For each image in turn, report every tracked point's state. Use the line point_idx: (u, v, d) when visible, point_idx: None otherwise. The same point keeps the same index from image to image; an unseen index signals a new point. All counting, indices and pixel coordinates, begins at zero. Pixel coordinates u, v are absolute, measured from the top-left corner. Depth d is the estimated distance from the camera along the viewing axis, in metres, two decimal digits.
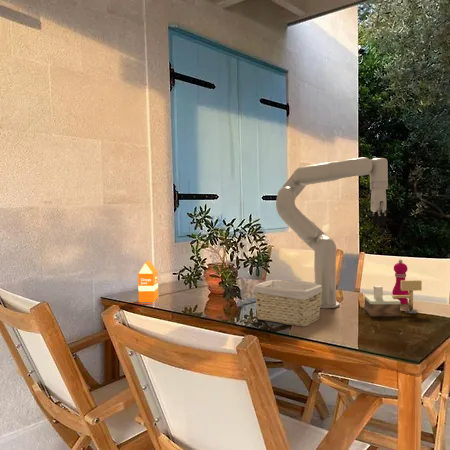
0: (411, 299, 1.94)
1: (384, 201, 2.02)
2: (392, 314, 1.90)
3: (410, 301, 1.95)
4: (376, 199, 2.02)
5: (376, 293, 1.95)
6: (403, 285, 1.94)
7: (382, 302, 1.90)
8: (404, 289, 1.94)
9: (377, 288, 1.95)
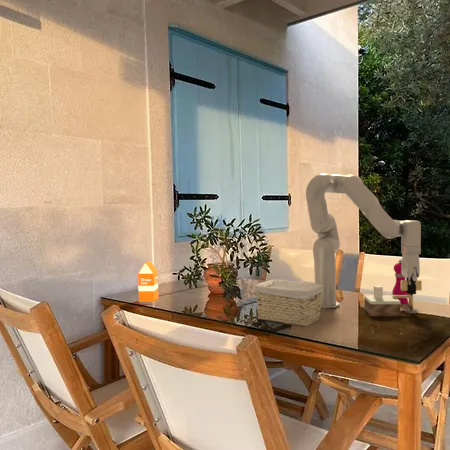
0: (411, 299, 1.94)
1: (417, 267, 1.89)
2: (392, 314, 1.90)
3: (410, 301, 1.95)
4: (409, 265, 1.90)
5: (376, 293, 1.95)
6: (403, 285, 1.94)
7: (382, 302, 1.90)
8: (404, 289, 1.94)
9: (377, 288, 1.95)
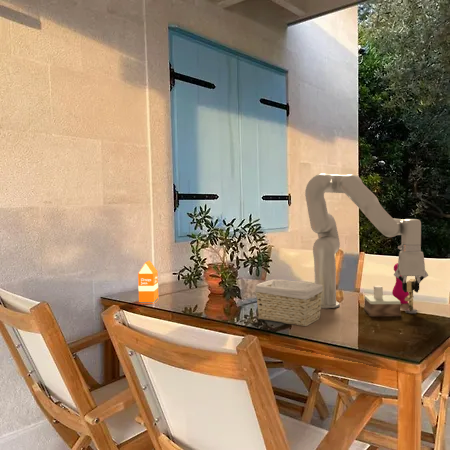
0: (412, 299, 1.95)
1: None
2: (392, 314, 1.90)
3: (412, 301, 1.95)
4: (424, 263, 1.91)
5: (376, 293, 1.95)
6: (411, 286, 1.92)
7: (382, 302, 1.90)
8: (411, 290, 1.92)
9: (377, 288, 1.95)
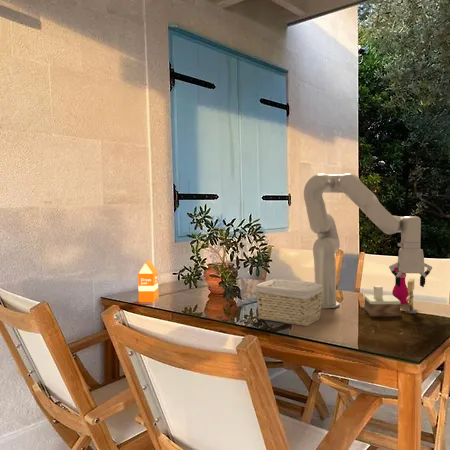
0: (412, 299, 1.95)
1: None
2: (392, 314, 1.90)
3: (412, 301, 1.95)
4: (423, 260, 1.92)
5: (376, 293, 1.95)
6: (412, 286, 1.91)
7: (382, 302, 1.90)
8: (412, 290, 1.92)
9: (377, 288, 1.95)
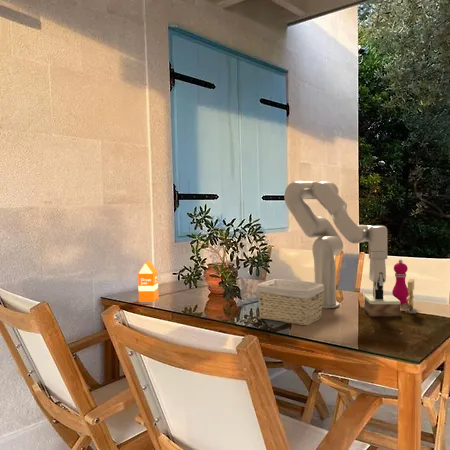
0: (412, 299, 1.95)
1: (383, 272, 1.91)
2: (392, 314, 1.90)
3: (412, 301, 1.95)
4: (375, 270, 1.91)
5: None
6: (412, 286, 1.91)
7: (382, 302, 1.90)
8: (412, 290, 1.92)
9: None
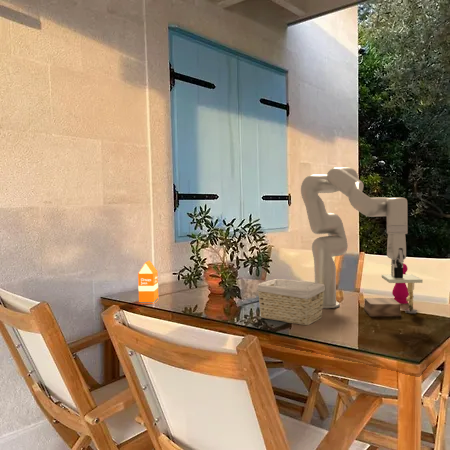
0: (412, 299, 1.95)
1: (403, 248, 1.74)
2: (392, 314, 1.90)
3: (412, 301, 1.95)
4: (394, 246, 1.74)
5: None
6: (412, 286, 1.91)
7: (402, 281, 1.74)
8: (412, 290, 1.92)
9: None
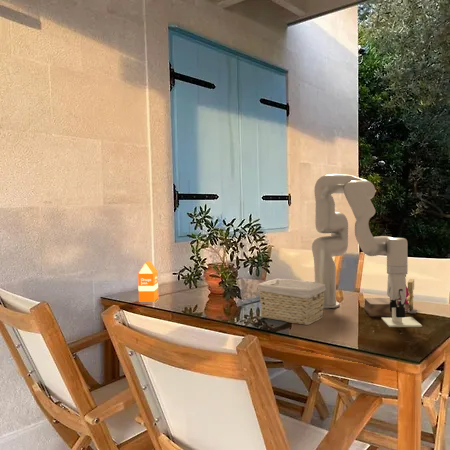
0: (412, 299, 1.95)
1: (404, 289, 1.75)
2: None
3: (412, 301, 1.95)
4: (394, 286, 1.75)
5: (395, 316, 1.79)
6: (412, 286, 1.91)
7: (402, 326, 1.75)
8: (412, 290, 1.92)
9: None
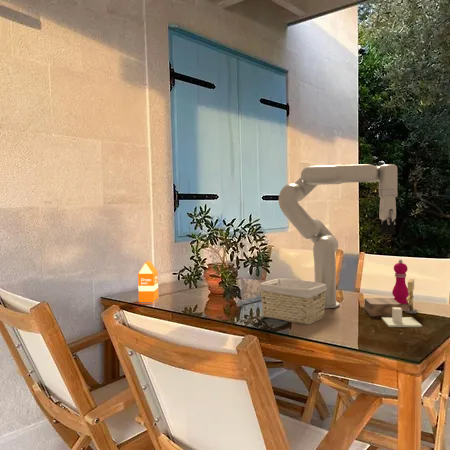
0: (412, 299, 1.95)
1: (394, 209, 1.94)
2: None
3: (412, 301, 1.95)
4: (385, 207, 1.94)
5: (395, 316, 1.79)
6: (412, 286, 1.91)
7: (402, 326, 1.75)
8: (412, 290, 1.92)
9: (396, 310, 1.79)
